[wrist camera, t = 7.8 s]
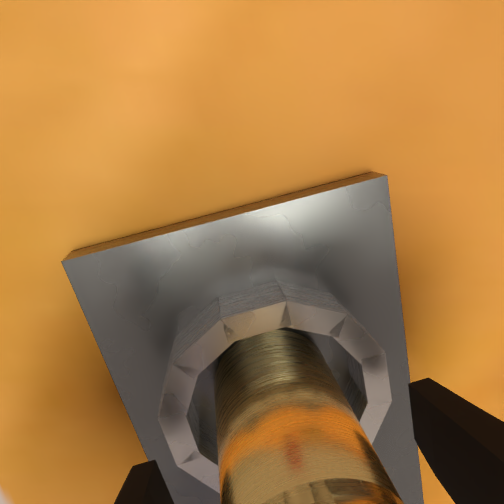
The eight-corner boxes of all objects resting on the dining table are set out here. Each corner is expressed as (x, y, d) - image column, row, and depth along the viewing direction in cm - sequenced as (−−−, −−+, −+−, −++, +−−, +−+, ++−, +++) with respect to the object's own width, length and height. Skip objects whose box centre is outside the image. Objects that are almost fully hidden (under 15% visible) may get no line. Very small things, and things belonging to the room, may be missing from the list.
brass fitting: (273, 444, 14) (339, 722, 7) (189, 391, 13) (179, 666, 6) (348, 370, 13) (492, 601, 7) (268, 307, 12) (349, 513, 6)
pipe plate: (417, 535, 18) (450, 594, 16) (219, 599, 18) (223, 671, 15) (372, 171, 12) (413, 181, 10) (72, 251, 12) (40, 281, 9)
